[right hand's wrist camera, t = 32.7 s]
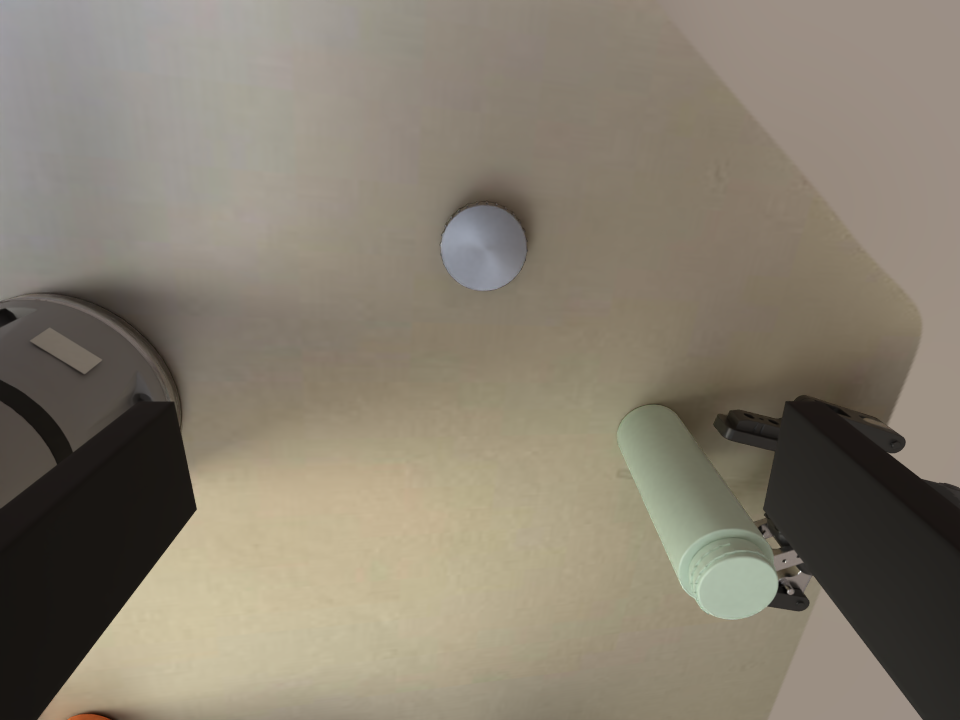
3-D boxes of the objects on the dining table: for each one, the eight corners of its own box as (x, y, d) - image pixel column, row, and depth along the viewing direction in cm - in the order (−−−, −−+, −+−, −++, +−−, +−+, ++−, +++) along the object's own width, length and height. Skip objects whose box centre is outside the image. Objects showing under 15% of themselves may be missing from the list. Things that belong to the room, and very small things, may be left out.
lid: (424, 253, 38) (422, 258, 36) (474, 182, 36) (473, 184, 35) (492, 301, 39) (493, 308, 37) (543, 234, 37) (546, 239, 36)
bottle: (652, 391, 41) (746, 531, 27) (696, 431, 42) (809, 586, 28) (603, 435, 43) (667, 592, 28) (647, 473, 44) (730, 642, 29)
